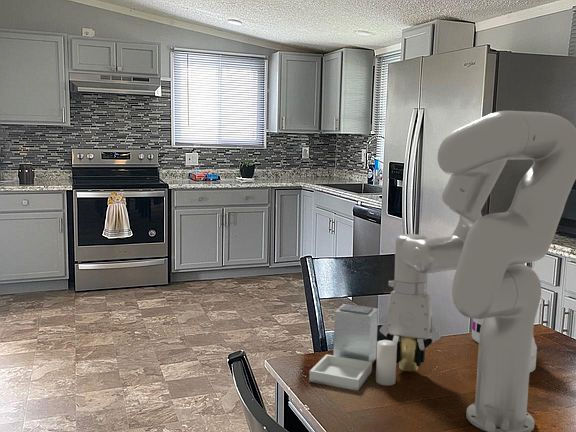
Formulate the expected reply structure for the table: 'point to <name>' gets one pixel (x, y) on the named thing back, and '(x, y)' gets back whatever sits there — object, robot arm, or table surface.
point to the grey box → (355, 332)
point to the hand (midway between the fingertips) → (408, 362)
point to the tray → (340, 372)
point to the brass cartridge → (408, 353)
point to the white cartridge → (386, 362)
